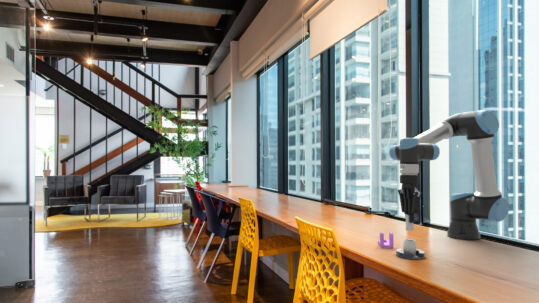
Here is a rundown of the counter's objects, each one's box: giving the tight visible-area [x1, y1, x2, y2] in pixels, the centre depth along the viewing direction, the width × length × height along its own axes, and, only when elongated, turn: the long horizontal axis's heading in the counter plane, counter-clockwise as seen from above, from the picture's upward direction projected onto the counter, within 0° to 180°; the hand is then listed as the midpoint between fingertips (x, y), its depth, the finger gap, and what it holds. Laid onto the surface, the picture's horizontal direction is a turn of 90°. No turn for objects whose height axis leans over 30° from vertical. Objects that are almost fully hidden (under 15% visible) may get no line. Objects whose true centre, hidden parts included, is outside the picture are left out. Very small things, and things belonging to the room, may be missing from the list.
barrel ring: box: [395, 248, 426, 260], centre depth 148 cm, size 11×11×2 cm
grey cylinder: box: [402, 238, 417, 256], centre depth 148 cm, size 5×5×6 cm
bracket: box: [377, 231, 394, 249], centre depth 168 cm, size 13×6×7 cm, turn 169°
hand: (409, 230), depth 148 cm, fingers closed
